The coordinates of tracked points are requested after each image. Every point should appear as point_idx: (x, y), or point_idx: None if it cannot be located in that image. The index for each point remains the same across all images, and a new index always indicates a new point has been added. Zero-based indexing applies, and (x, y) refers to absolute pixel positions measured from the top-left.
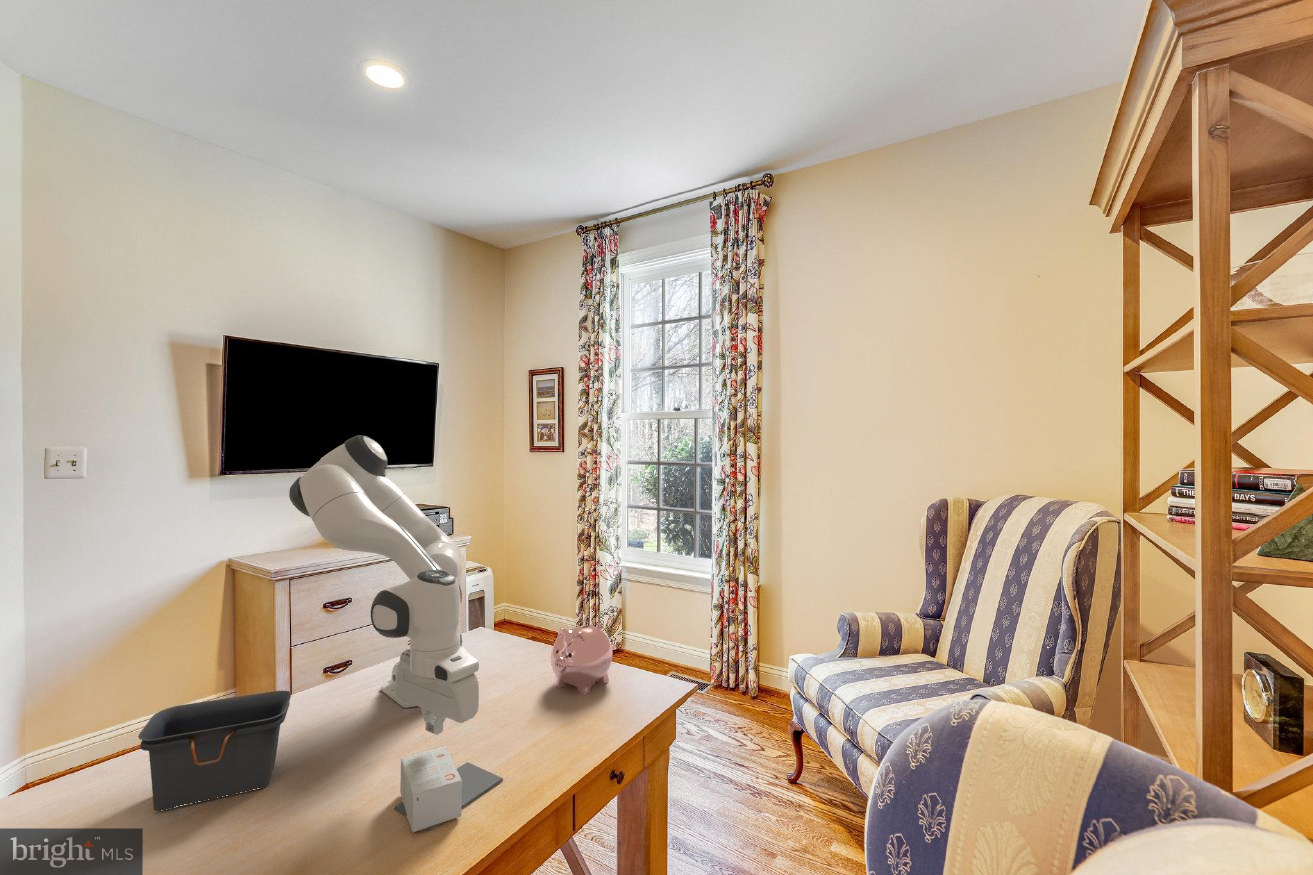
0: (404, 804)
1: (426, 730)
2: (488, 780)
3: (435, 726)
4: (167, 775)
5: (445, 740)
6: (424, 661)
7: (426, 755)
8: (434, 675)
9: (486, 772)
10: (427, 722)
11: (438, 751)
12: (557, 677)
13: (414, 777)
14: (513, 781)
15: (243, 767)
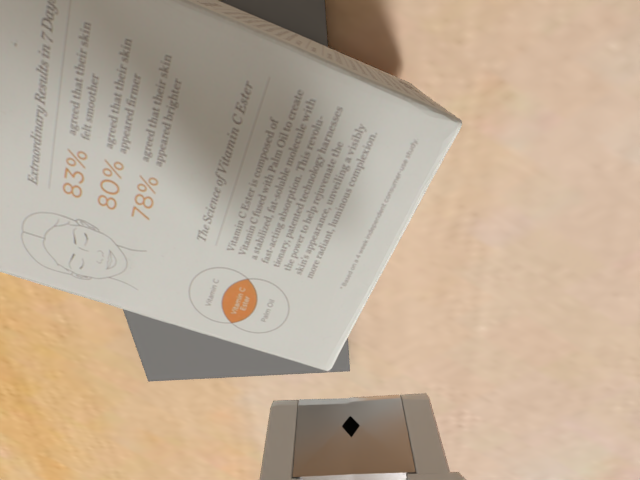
0: (265, 20)
1: (411, 394)
2: (172, 348)
3: (261, 474)
4: None
5: (569, 403)
6: None
7: (318, 250)
8: None
9: (227, 370)
10: (408, 476)
11: (298, 318)
12: None
13: (97, 29)
14: (121, 389)
15: None
